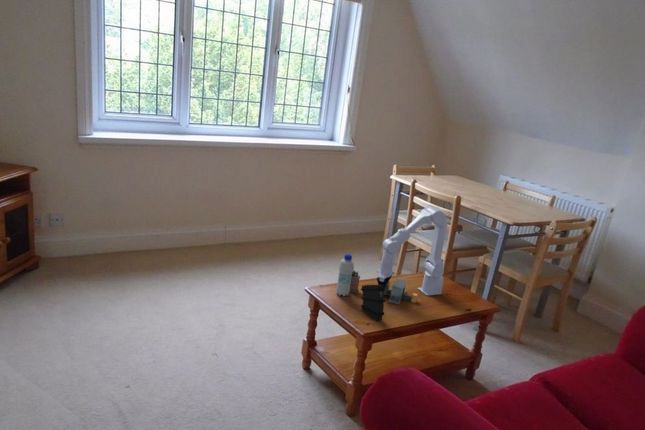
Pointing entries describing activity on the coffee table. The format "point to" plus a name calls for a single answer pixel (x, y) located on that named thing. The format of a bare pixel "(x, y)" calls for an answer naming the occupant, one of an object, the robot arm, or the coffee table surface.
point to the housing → (397, 291)
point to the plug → (404, 296)
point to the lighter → (354, 281)
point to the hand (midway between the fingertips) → (382, 289)
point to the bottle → (345, 275)
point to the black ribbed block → (373, 301)
